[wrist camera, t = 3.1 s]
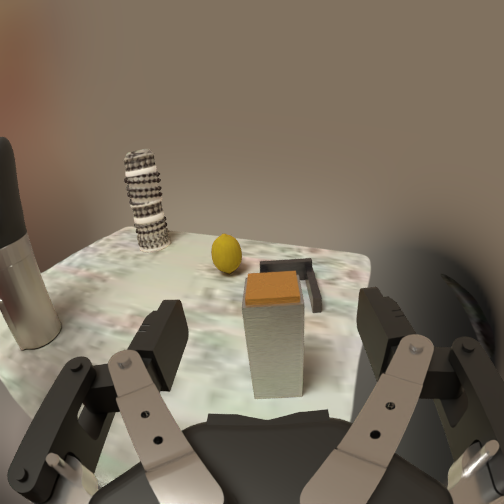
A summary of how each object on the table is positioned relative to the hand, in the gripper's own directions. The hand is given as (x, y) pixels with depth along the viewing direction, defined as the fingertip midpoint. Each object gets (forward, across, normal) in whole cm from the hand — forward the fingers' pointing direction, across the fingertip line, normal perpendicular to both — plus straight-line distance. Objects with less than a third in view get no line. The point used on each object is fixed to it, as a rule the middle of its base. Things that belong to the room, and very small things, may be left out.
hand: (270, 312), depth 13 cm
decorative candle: (+56, +31, +17) cm, 66 cm away
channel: (+29, -2, +17) cm, 34 cm away
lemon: (+38, +9, +17) cm, 43 cm away
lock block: (+11, 0, +18) cm, 21 cm away
